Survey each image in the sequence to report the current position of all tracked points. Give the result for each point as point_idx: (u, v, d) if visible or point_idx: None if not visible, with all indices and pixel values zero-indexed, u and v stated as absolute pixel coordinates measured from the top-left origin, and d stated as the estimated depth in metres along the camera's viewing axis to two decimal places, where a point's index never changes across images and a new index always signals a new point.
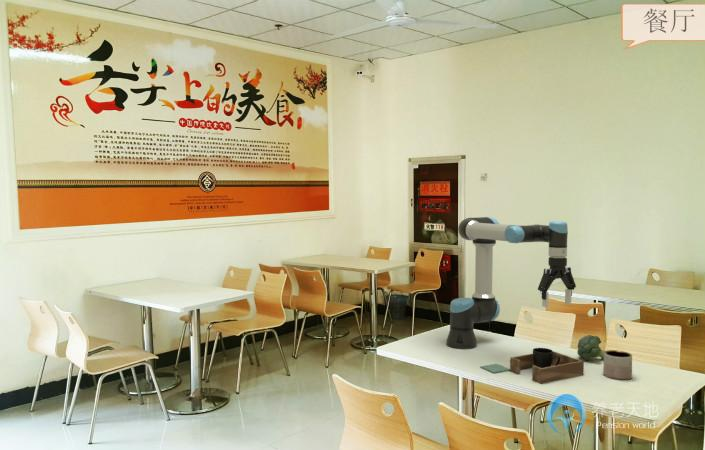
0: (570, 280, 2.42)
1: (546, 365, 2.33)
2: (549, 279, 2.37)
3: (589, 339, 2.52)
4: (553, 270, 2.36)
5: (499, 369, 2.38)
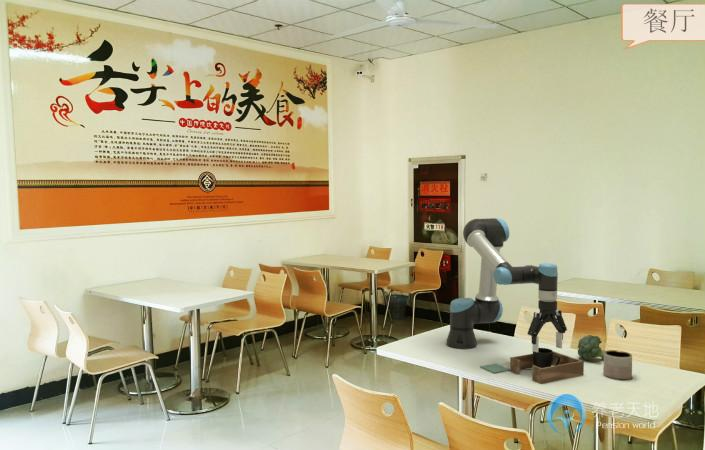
0: (561, 323, 2.37)
1: (546, 365, 2.33)
2: (539, 323, 2.32)
3: (589, 339, 2.51)
4: (543, 314, 2.31)
5: (499, 369, 2.38)
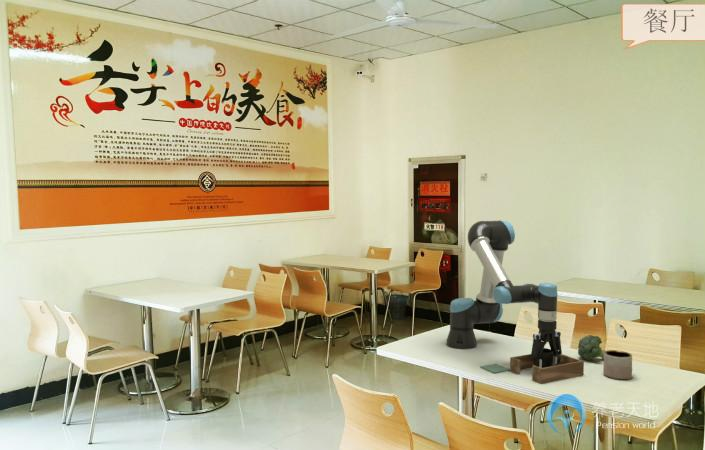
0: (557, 345, 2.37)
1: (546, 365, 2.33)
2: (540, 344, 2.33)
3: (590, 339, 2.51)
4: (542, 334, 2.32)
5: (499, 369, 2.38)
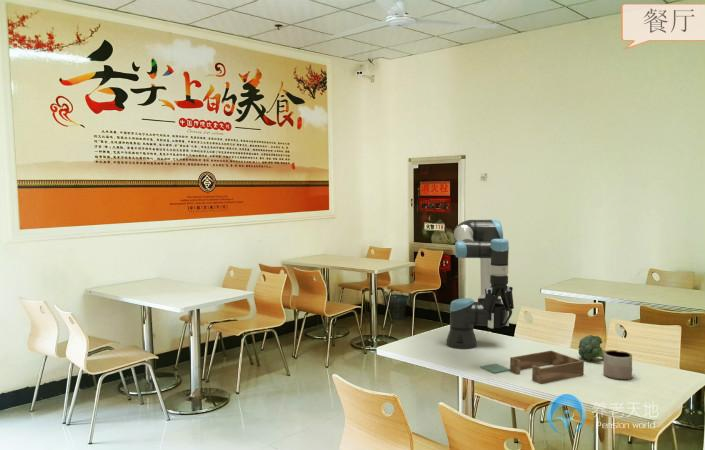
0: (509, 300, 2.41)
1: (498, 319, 2.37)
2: (492, 299, 2.37)
3: (590, 339, 2.51)
4: (494, 288, 2.36)
5: (499, 369, 2.38)
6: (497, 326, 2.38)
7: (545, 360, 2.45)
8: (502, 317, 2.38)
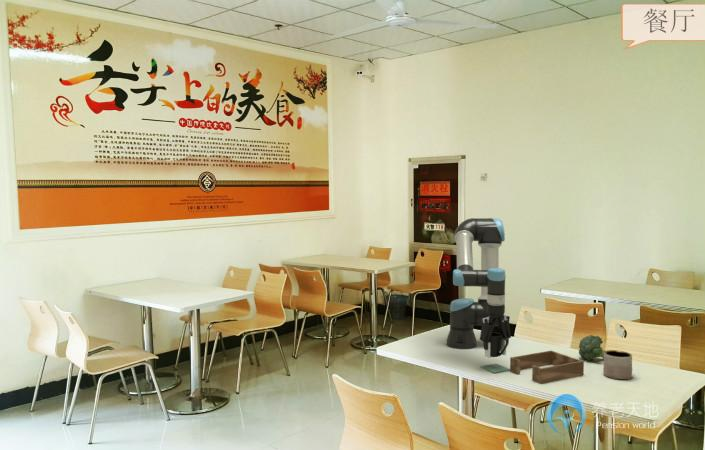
0: (506, 329, 2.42)
1: (495, 348, 2.38)
2: (489, 328, 2.38)
3: (590, 339, 2.51)
4: (491, 317, 2.37)
5: (499, 369, 2.38)
6: (494, 355, 2.39)
7: (545, 360, 2.45)
8: (499, 346, 2.38)
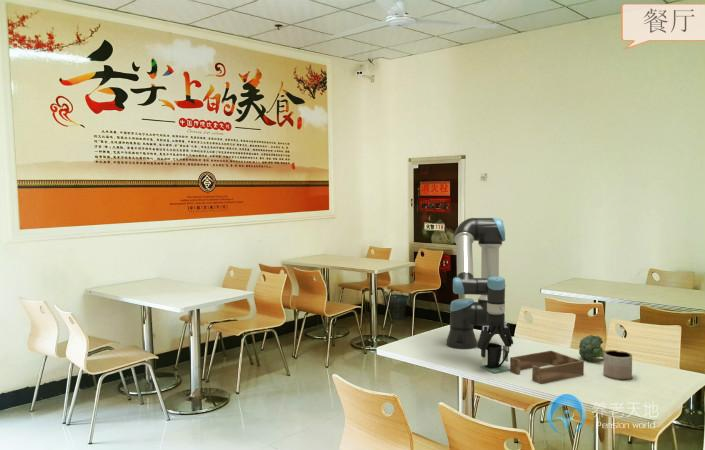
0: (508, 336, 2.42)
1: (494, 359, 2.38)
2: (487, 336, 2.38)
3: (591, 339, 2.51)
4: (491, 326, 2.37)
5: (499, 369, 2.38)
6: (493, 367, 2.39)
7: (545, 360, 2.45)
8: (498, 358, 2.39)
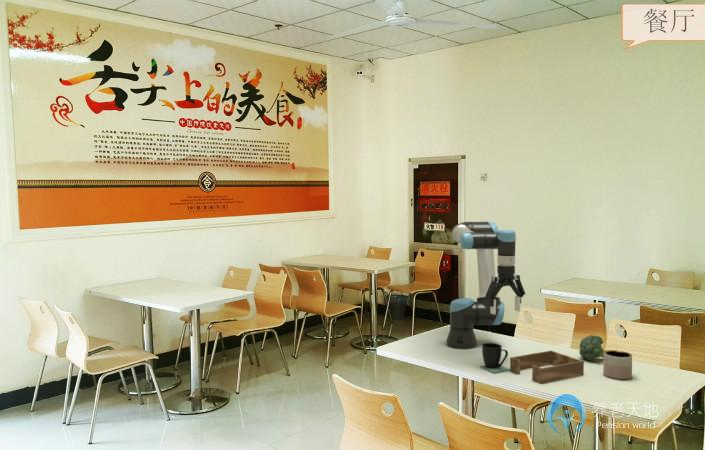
0: (519, 287, 2.46)
1: (494, 359, 2.38)
2: (497, 287, 2.41)
3: (591, 339, 2.51)
4: (501, 278, 2.40)
5: (499, 369, 2.38)
6: (493, 367, 2.39)
7: (545, 360, 2.45)
8: (498, 358, 2.39)
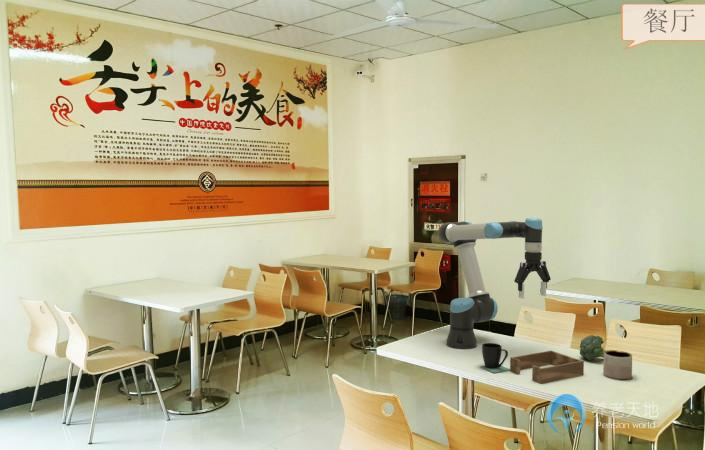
0: (545, 273, 2.59)
1: (494, 359, 2.38)
2: (525, 272, 2.54)
3: (591, 339, 2.51)
4: (529, 264, 2.53)
5: (499, 369, 2.38)
6: (493, 367, 2.39)
7: (545, 360, 2.45)
8: (498, 358, 2.39)
